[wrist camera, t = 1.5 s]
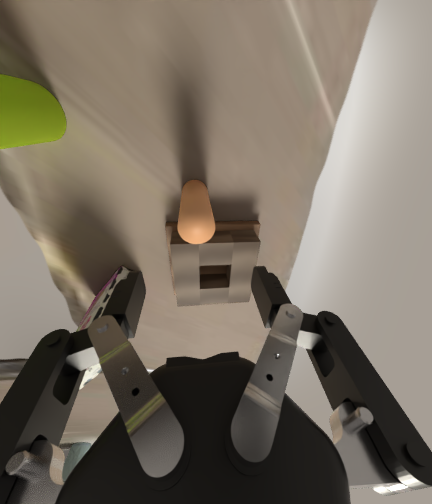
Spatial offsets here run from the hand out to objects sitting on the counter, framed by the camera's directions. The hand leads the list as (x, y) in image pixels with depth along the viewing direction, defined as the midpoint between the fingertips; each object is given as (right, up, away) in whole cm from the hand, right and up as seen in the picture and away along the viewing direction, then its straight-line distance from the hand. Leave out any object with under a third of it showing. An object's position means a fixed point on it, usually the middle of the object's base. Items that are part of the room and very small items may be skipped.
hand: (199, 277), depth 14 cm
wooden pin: (-2, +11, +16) cm, 20 cm away
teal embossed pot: (-65, -94, +81) cm, 140 cm away
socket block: (+1, +1, +24) cm, 24 cm away
